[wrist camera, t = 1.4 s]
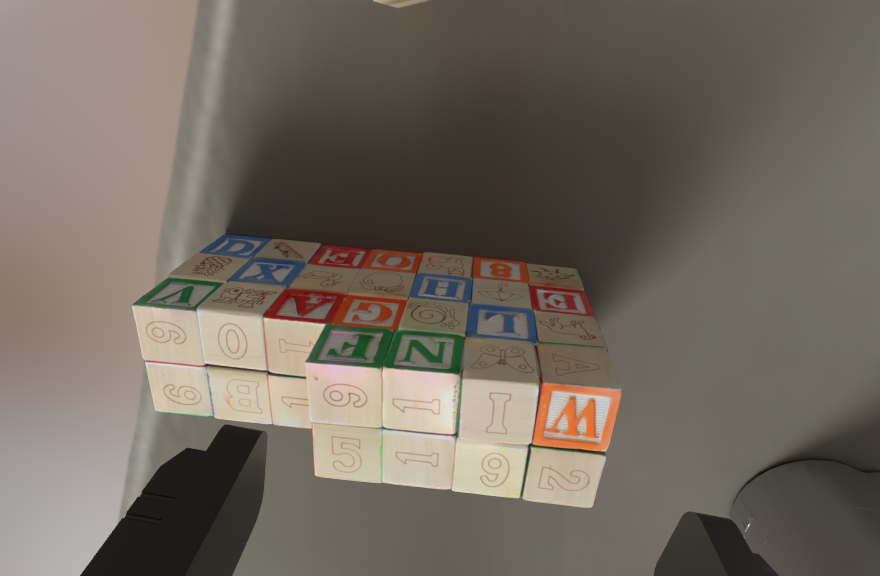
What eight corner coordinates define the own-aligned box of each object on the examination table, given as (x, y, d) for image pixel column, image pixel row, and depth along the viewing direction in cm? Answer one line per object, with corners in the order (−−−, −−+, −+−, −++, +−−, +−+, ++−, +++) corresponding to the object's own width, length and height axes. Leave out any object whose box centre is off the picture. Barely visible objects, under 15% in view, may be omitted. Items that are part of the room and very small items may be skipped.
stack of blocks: (234, 321, 35) (111, 455, 24) (223, 231, 32) (79, 333, 21) (562, 356, 34) (595, 514, 22) (580, 265, 31) (627, 394, 20)
